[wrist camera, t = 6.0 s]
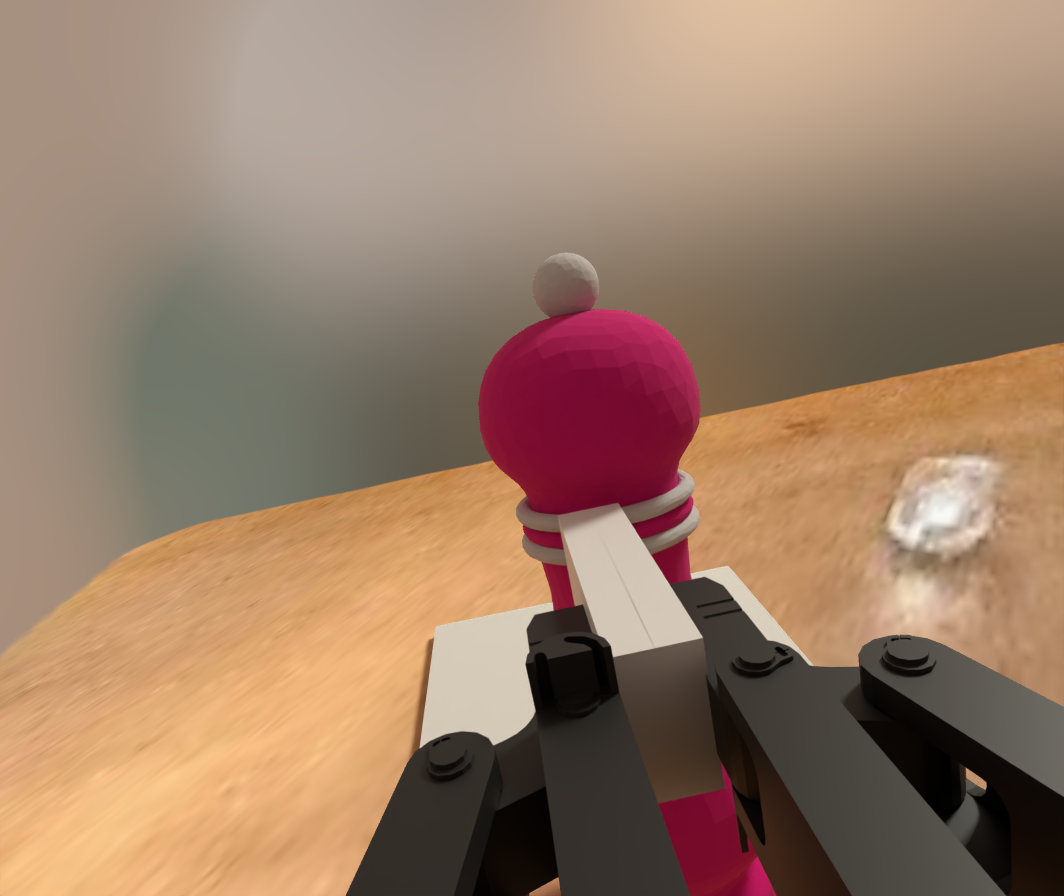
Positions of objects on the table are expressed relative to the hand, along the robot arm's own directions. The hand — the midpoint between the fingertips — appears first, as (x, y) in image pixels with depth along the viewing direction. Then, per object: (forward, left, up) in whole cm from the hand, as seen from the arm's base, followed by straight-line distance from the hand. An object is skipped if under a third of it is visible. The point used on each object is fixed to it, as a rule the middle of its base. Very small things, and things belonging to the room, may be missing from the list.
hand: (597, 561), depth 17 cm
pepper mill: (+1, -2, -13) cm, 13 cm away
